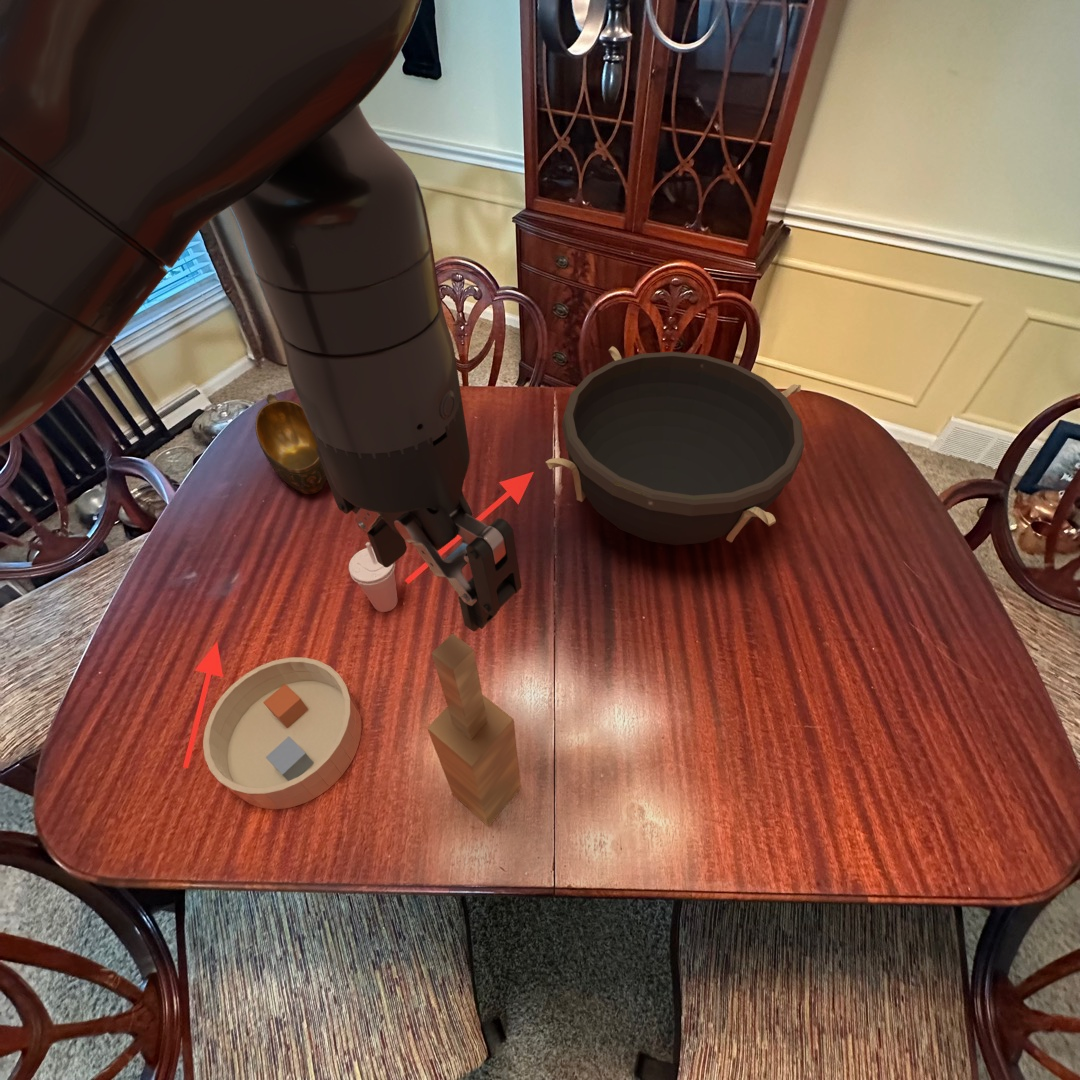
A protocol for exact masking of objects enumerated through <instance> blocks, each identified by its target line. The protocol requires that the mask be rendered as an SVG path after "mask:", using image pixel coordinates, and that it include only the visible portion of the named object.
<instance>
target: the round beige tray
mask: <svg viewBox="0 0 1080 1080" xmlns="http://www.w3.org/2000/svg"><path fill="white" fill-rule="evenodd" d="M284 684H286V685H287V686H288V687H289V688H290V689H291V690H292V691H293V692H294V693H295V694H297V695H298V696H299V697H300V698H301V700H302V701H303V703H304V704H305V705H306V707H307V708H308V710H307V711H306V712H305V713H304V714H303V715H302V716H301V717H300V718H298V719H297V720H296V721H295V722H294V723H293V724H292V725H291V726H290V727H288V728H286V727H285V726H284V725H283V724H282V723H281V722H280V721H279V720H278V719H277V718H276V717H275V716H274V715H273V714H272V713H271V711H270V710H269V709H268V708H267V707H266V705H265V704H264V703H263V702H264V701H265V700H266V699H268V698H269V697H270V696H271V695H272V694H273V693H275V692H276V691H277V690H278V689H279V688H280V687H282V686H283V685H284ZM288 736H289V737H290V738H291V739H292V740H293V741H294V742H295V743H296V744H297V745H298V746H299V747H300V748H301V749H302V750H303V751H304V752H305V753H306V754H307V755H308V756H309V758H310V759H311V760H312V761H313V762H314V763H313V764H312V765H311V766H310V767H309V768H308V769H307V770H306V771H305V772H304V773H303V774H302V775H300V776H299V777H297V778H294V779H292V780H290V781H288V780H287V779H286V778H285V777H284V776H283V775H282V774H281V773H280V772H279V771H278V770H277V769H276V768H275V767H274V766H273V765H272V764H271V763H270V762H269V761H268V759H267V758H266V756H268V755H269V754H270V753H271V752H272V751H273V750H274V749H275V748H276V747H277V746H279V745H280V744H281V743H282V742H283V741H284V740H285V739H286V738H287V737H288ZM361 736H362V718H361V713H360V709H359V707H358V704H357V702H356V700H355V698H354V696H353V695H352V693H351V691H350V689H349V688H348V685H347V684H346V683H345V681H344V679H343V678H342V676H341V675H340V674H339V673H338V672H337V671H336V670H335V669H334V668H333V667H332V666H330V665H329V664H326V663H324V662H322V661H321V660H318V659H315V658H314V659H313V658H309V657H299V656H298V657H294V656H293V657H285V658H280V659H275V660H272V661H269V662H266V663H263V664H261V665H259V666H256V667H255V668H253V669H252V670H250V671H248V672H247V673H245V674H243V675H242V676H241V677H240V678H239V679H237V680H236V681H234V683H232V684H231V685H230V686H229V687H228V689H226V690H225V692H224V693H223V694H222V695H221V696H220V697H219V699H218V700H217V702H216V704H215V705H214V707H213V708H212V710H211V711H210V714H209V716H208V719H207V723H206V725H205V728H204V733H203V738H202V739H203V740H202V746H203V747H202V748H203V757H204V760H205V763H206V764H207V767H208V769H209V772H210V773H211V774H212V776H214V778H215V779H216V780H217V781H218V782H219V783H220V784H221V785H223V786H224V787H225V788H226V789H228V790H229V791H230V792H231V793H232V794H234V795H235V796H236V797H238V798H239V799H240V800H242V801H244V802H246V804H249V805H251V806H254V807H256V808H260V809H266V810H285V809H290V808H294V807H296V806H301V805H303V804H306V803H308V802H311V801H312V800H314V799H316V798H317V797H319V796H321V795H322V794H323V793H325V792H326V791H328V790H329V789H330V788H331V787H333V786H334V785H335V784H336V783H337V782H338V781H339V780H340V779H341V777H342V776H343V775H344V774H345V773H346V771H347V770H348V768H349V767H350V765H351V764H352V761H353V760H354V758H355V757H356V753H357V752H358V749H359V745H360V742H361Z"/></svg>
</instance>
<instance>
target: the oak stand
mask: <svg viewBox="0 0 1080 1080" xmlns="http://www.w3.org/2000/svg"><path fill="white" fill-rule="evenodd" d="M482 695H483V700H484V706H485V711H486V716H487V723H486V724H485V725H484V726H483V727H482V728H481V729H480V730H479V732H478V733H477V734H476V735H475V736H474V737H473V738H472V739H471V740H470V739H469V738H468V737H467V736H465V735H464V734H463V733H462V732H461V731H459V730H458V729H457V728H456V727H455V726H454V725H453V723H452V720H451V716H450V713H449V710H448V706H447V707H445V708H444V709H443V711H441V712H440V714H439V715H438V716H437V717H436V718H435V719H434V720H433V721H432V722H431V723H430V724H429V725H428V726H427V727H426V729H427V732H428V734H429V737H430V739H431V742H432V745H433V748H434V750H435V753H436V756H437V758H438V760H439V763H440V765H441V769H442V771H443V773H444V776H445V779H446V781H447V784H448V786H449V789H450V792H451V794H452V796H453V797H455V798H456V799H457V800H458V801H459V802H460V803H461V804H463V806H465V807H466V809H468V810H469V811H470V812H471V813H473V815H474V816H476V817H477V818H478V819H479V820H480V821H481V822H482V823H483V824H485V825H486V826H487V827H488V828H489V827H490V826H491V825H492V824H493V822H494V821H495V820H496V818H497V817H498V816H499V815H500V814H501V813H502V811H503V810H504V809H505V807H506V806H507V805H508V804H509V802H510V801H511V800H512V798H513V797H514V796H515V795H516V793H517V792H518V791H519V790H520V789H521V788H522V782H521V775H520V765H519V757H518V755H519V754H518V747H517V738H516V737H517V736H516V730H515V729H516V728H515V721H514V718H513V717H512V716H511V715H509V713H507V712H506V711H504V710H503V709H502V708H500V707H499V706H498V705H497V704H495V702H493V701H492V700H491V699H489V698H488V697H486V696H485V695H484V694H483V693H482Z"/></svg>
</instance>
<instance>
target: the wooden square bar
mask: <svg viewBox="0 0 1080 1080" xmlns="http://www.w3.org/2000/svg"><path fill="white" fill-rule="evenodd" d="M431 657H432V659H433V663H434V666H435V670H436V673H437V676H438V679H439V683H440V686H441V689H442V692H443V696H444V699H445V703H446V706H447V707H448V710H449V713H450V716H451V720H452V723H453V725H454V726H455V727H456V728H457V729H458V730H459V731H461V732H462V733H463V734H464V735H465V736H467V737H468V738H469V739H470V740H471V739H472V738H473V737H474V736H475V735H476V734H477V733H478V732H479V730H480V729H481V728H482V727H483V726H484V725H485V724H486V723H487V716H486V711H485V706H484V700H483V695H484V694H483V690H482V686H481V680H480V675H479V670H478V665H477V664H478V663H477V660H476V653H475V649H474V648H473V647H472V646H470V644H468V643H466V642H465V641H464V640H462V639H461V638H460V637H458V636H457V635H456V634H454V633H451V634H450V635H449V636H448V637H447V638H446V639H445V640H443V641H442V642H441V643H440V644H439V645H438V646H437V647H436V649H434V650H432V652H431ZM482 694H483V695H482Z"/></svg>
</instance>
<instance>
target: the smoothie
mask: <svg viewBox="0 0 1080 1080" xmlns="http://www.w3.org/2000/svg"><path fill="white" fill-rule="evenodd" d="M365 546H366V547H365V548H363V549H360V550H359V551H357V552H356V553H354V555H353V556H352V557H351V558H350V561H349V564H348V571H349V574H350V577H351V579H352V580H353V581H354V582H355V583H357V584H358V585H359V587H360V588H361V590H362V592H363V593H364V594H365V596H366V597H367V599H368V600H369V602H370V603H371V605H372V606H373V608H374V609H375V610H376V611H377V612H380V613H388V612H390V611H392V610H393V609H395V608H396V606H397V605H398V603H399V601H398V599H399V598H398V591H397V590H398V589H397V581H396V575H395V568H396V562H394V563H393V564H392V565H391V566H389V567H384V566H383V565H381V564H380V563H379V562H378V561H377V559H376V556H375V553H374V551H373V548H372V545H371V543H370V541H367V542H366V543H365Z"/></svg>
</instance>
